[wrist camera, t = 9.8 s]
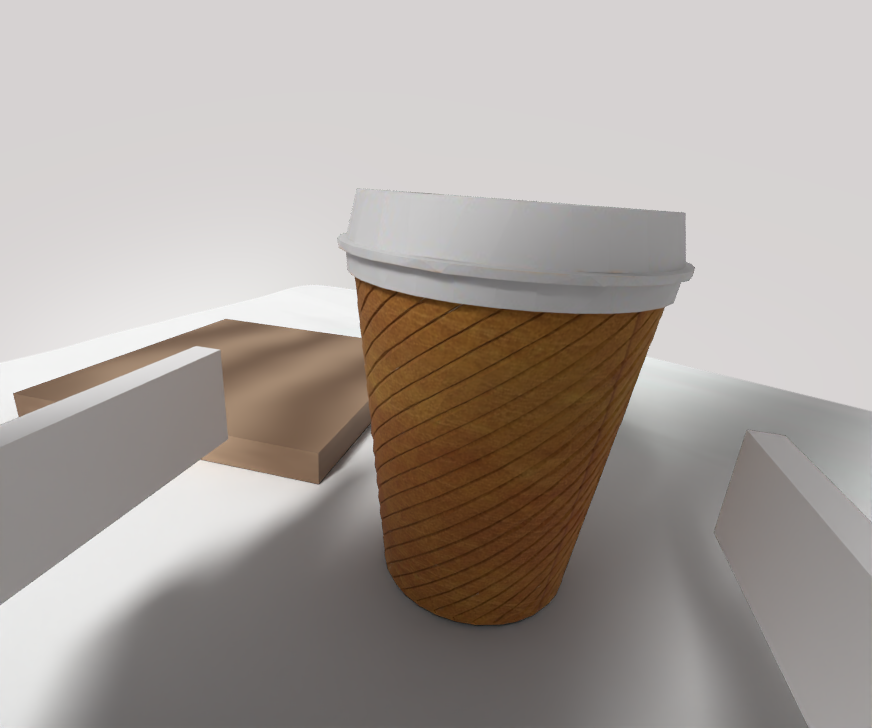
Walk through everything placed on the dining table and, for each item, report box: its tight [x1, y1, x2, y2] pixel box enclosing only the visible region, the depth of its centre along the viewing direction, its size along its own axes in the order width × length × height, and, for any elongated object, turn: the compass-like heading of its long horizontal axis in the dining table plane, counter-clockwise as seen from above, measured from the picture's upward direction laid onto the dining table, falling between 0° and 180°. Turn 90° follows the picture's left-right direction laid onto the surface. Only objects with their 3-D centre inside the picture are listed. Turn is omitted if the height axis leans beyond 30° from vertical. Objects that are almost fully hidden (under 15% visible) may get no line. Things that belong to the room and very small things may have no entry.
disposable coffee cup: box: [337, 188, 695, 625], centre depth 15 cm, size 10×10×12 cm
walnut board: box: [13, 319, 371, 484], centre depth 29 cm, size 16×16×2 cm
